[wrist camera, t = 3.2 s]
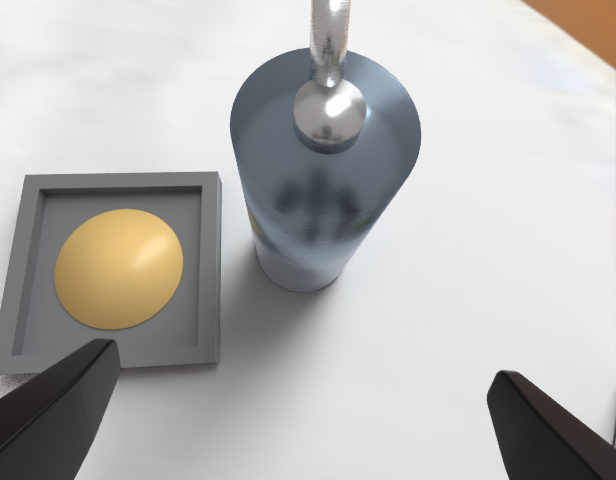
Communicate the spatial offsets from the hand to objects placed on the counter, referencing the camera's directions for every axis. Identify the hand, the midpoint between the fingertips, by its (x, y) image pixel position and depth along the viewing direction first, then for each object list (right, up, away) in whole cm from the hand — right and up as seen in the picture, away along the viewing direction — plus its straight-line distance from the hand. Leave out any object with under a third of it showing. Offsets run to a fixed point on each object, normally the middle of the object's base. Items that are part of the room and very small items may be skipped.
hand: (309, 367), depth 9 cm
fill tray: (-11, +1, +13) cm, 17 cm away
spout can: (0, +3, +15) cm, 15 cm away
